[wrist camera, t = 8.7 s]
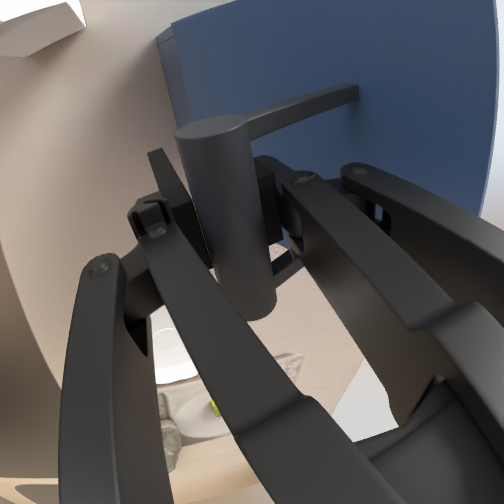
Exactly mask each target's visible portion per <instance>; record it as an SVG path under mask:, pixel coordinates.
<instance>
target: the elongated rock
mask: <svg viewBox="0 0 504 504" xmlns="http://www.w3.org/2000/svg"><path fill="white" fill-rule="evenodd" d="M160 422H161V430H162V437H163V444H164V450H165V457H166V463H167V469H168V474H169V473H170V472H172V471H173V470H174V469H175V464H176V461H177V459H178V454H179V451H180V450H181V446H182V445H181V442H182V441H181V437H180V432H179V429H178V428H177V425H176V424H175V423H174V422H173V421H171V420H161V421H160Z"/></svg>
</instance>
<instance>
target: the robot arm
mask: <svg viewBox="0 0 504 504" xmlns="http://www.w3.org/2000/svg"><path fill="white" fill-rule="evenodd" d="M147 154H148V157H149V161H150V164H151V167H152V170H153V173H154V176H155V179H156V182H157V185H158V188H159V191H158V192H155V193H153V194H150V195H147V196H145V197H142V198H140V199H138V200H137V202H136V204H135V205H134V207H132V208H131V209H130V211H129V212H128V215H127V218H128V220H129V223H130V225H131V227H132V230H133V232H134V234H135V236H136V239H137V241H138V244H137V246H136V247H135V248H134V249H133V250H132V251H131V252H130V253H128V254H127V255H126V256H124V257H123V258H121V259H119V257H118V256H117V255H116V254H113V253H107V254H102V255H100V256H97V257H95V258H93V260H91V261H89V262H88V264H87V265H86V266H85V267H84V268H83V271H82V273H81V276H80V281H79V285H78V290H77V294H76V299H75V304H74V309H73V314H72V320H71V325H70V331H69V337H68V343H67V350H66V357H65V365H64V373H63V382H62V392H61V404H60V418H59V441H58V483H59V502H60V504H174V501H173V496H172V491H171V486H170V480H169V475H168V469H167V463H166V457H165V450H164V444H163V437H162V430H161V422H160V414H159V406H158V397H157V387H156V377H155V366H154V353H153V339H152V322H151V317H150V315H151V314H152V313H153V312H155V311H156V310H158V309H159V308H160V307H162V306H163V305H165V306H166V309H167V311H168V313H169V315H170V317H171V319H172V321H173V323H174V326H175V328H176V330H177V332H178V334H179V336H180V338H181V340H182V342H183V344H184V346H185V348H186V350H187V352H188V354H189V356H190V358H191V360H192V362H193V364H194V366H195V368H196V370H197V372H198V374H199V375H200V377H201V379H202V381H203V383H204V385H205V387H206V389H207V390H208V392H209V394H210V396H211V398H212V400H213V401H214V403H215V405H216V407H217V409H218V410H219V412H220V414H221V416H222V417H223V419H224V421H225V423H226V424H227V426H228V428H229V429H230V431H231V433H232V435H233V437H234V439H235V441H236V443H237V445H238V447H239V448H240V450H241V452H242V453H243V455H244V457H245V458H246V460H247V462H248V463H249V465H250V466H251V468H252V469H253V471H254V473H255V474H256V476H257V477H258V479H259V480H260V482H261V483H262V485H263V486H264V488H265V489H266V491H267V492H268V494H269V495H270V497H271V498H272V500H273V501H274V503H275V504H504V231H503V230H501V229H499V228H498V227H496V226H494V225H492V224H491V223H489V222H487V221H485V220H484V219H481V218H480V217H478V216H476V215H475V214H473V213H471V212H469V211H467V210H465V209H463V208H461V207H460V206H458V205H456V204H454V203H452V202H450V201H448V200H446V199H444V198H442V197H440V196H438V195H436V194H434V193H432V192H430V191H428V190H426V189H424V188H421V187H419V186H417V185H415V184H413V183H411V182H409V181H406V180H404V179H402V178H400V177H397V176H395V175H393V174H391V173H388V172H386V171H384V170H381V169H379V168H377V167H374V166H372V165H369V164H365V163H360V162H355V163H354V162H353V163H350V164H346V165H344V166H343V167H341V169H340V178H336V179H328V180H324V179H323V178H322V177H321V176H319V175H318V174H317V173H315V172H312V171H307V170H299V171H294V170H293V169H291V168H290V167H288V166H287V165H284V164H283V163H282V162H279V160H277V159H276V158H274V157H272V156H268V155H261V156H257V157H253V159H254V165H255V171H256V176H257V182H258V188H259V194H260V199H261V205H262V211H263V217H264V223H265V229H266V235H267V241H268V246H270V245H272V244H275V243H277V242H280V241H282V240H284V238H283V230H282V227H283V228H284V229H285V230H286V231H287V232H288V238H289V246H290V254H291V260H292V262H294V261H295V254H296V255H297V256H298V257H299V260H301V262H302V263H303V265H304V266H305V268H306V269H307V271H308V272H309V274H310V275H311V276H312V278H313V279H314V281H315V282H316V284H317V285H318V287H319V288H320V290H321V291H322V293H323V294H324V296H325V297H326V299H327V300H328V302H329V303H330V305H331V306H332V308H333V309H334V311H335V312H336V314H337V315H338V317H339V318H340V320H341V321H342V323H343V324H344V326H345V327H346V329H347V330H348V332H349V333H350V335H351V336H352V338H353V340H354V341H355V343H356V344H357V346H358V347H359V349H360V350H361V352H362V353H363V355H364V356H365V358H366V359H367V361H368V363H369V364H370V366H371V367H372V369H373V370H374V372H375V374H376V375H377V377H378V378H379V380H380V382H381V383H382V384H383V386H384V388H385V390H386V392H387V394H388V398H389V404H390V409H391V412H392V415H393V416H394V419H395V421H396V422H397V424H398V426H399V427H397V428H395V429H393V430H390V431H387V432H384V433H381V434H378V435H375V436H373V437H370V438H367V439H363V440H360V441H357V442H354V443H353V442H352V441H351V440H350V438H348V436H347V435H346V434H345V432H344V431H343V430H342V429H341V428H340V427H339V425H338V424H337V423H336V422H335V421H334V419H333V418H332V417H331V416H330V415H329V413H328V412H327V411H326V410H325V409H324V408H323V407H322V406H321V404H320V403H319V402H318V401H317V400H315V399H314V398H313V397H311V396H307V395H304V394H302V393H301V392H300V391H299V390H298V389H297V387H296V386H295V385H294V384H293V382H292V381H291V380H290V378H289V377H288V376H287V375H286V373H285V372H284V371H283V369H282V368H281V367H280V366H279V364H278V363H277V362H276V360H275V359H274V358H273V356H272V355H271V354H270V353H269V351H268V350H267V349H266V347H265V346H264V345H263V343H262V342H261V341H260V339H259V338H258V337H257V335H256V334H255V333H254V331H253V330H252V329H251V327H250V326H249V325H248V323H247V322H246V321H245V319H244V318H243V317H242V315H241V314H240V313H239V311H238V310H237V308H236V307H235V306H234V304H233V303H232V302H231V300H230V299H229V298H228V296H227V295H226V293H225V292H224V291H223V289H222V288H221V286H220V285H219V284H218V282H217V281H216V280H215V278H214V277H213V275H212V274H211V273H210V271H209V269H212V268H213V265H212V262H211V259H210V256H209V253H208V250H207V246H206V243H205V240H204V237H203V234H202V230H201V227H200V224H199V221H198V217H197V214H196V211H195V208H194V204H193V201H192V199H191V197H190V196H189V194H188V192H187V190H186V189H185V187H184V185H183V183H182V182H181V180H180V178H179V177H178V175H177V173H176V171H175V170H174V168H173V166H172V164H171V163H170V161H169V159H168V157H167V156H166V154H165V152H164V151H163V149H162V148H159V149H157V150H154V151H151V152H148V153H147ZM376 205H378V206H380V207H382V208H383V212H382V220H378V219H376V218H375V216H376Z"/></svg>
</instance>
